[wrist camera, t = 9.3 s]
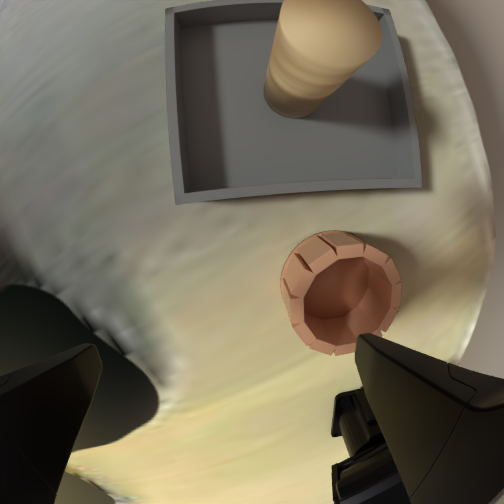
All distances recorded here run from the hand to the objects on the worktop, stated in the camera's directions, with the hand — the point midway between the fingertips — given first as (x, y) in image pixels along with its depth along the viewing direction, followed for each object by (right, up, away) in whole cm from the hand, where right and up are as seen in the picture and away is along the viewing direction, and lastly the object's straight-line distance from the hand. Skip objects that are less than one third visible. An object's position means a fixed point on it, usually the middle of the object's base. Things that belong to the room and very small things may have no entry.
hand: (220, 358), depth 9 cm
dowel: (+4, +14, +9) cm, 17 cm away
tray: (+4, +15, +10) cm, 18 cm away
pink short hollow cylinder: (+7, +1, +13) cm, 15 cm away
